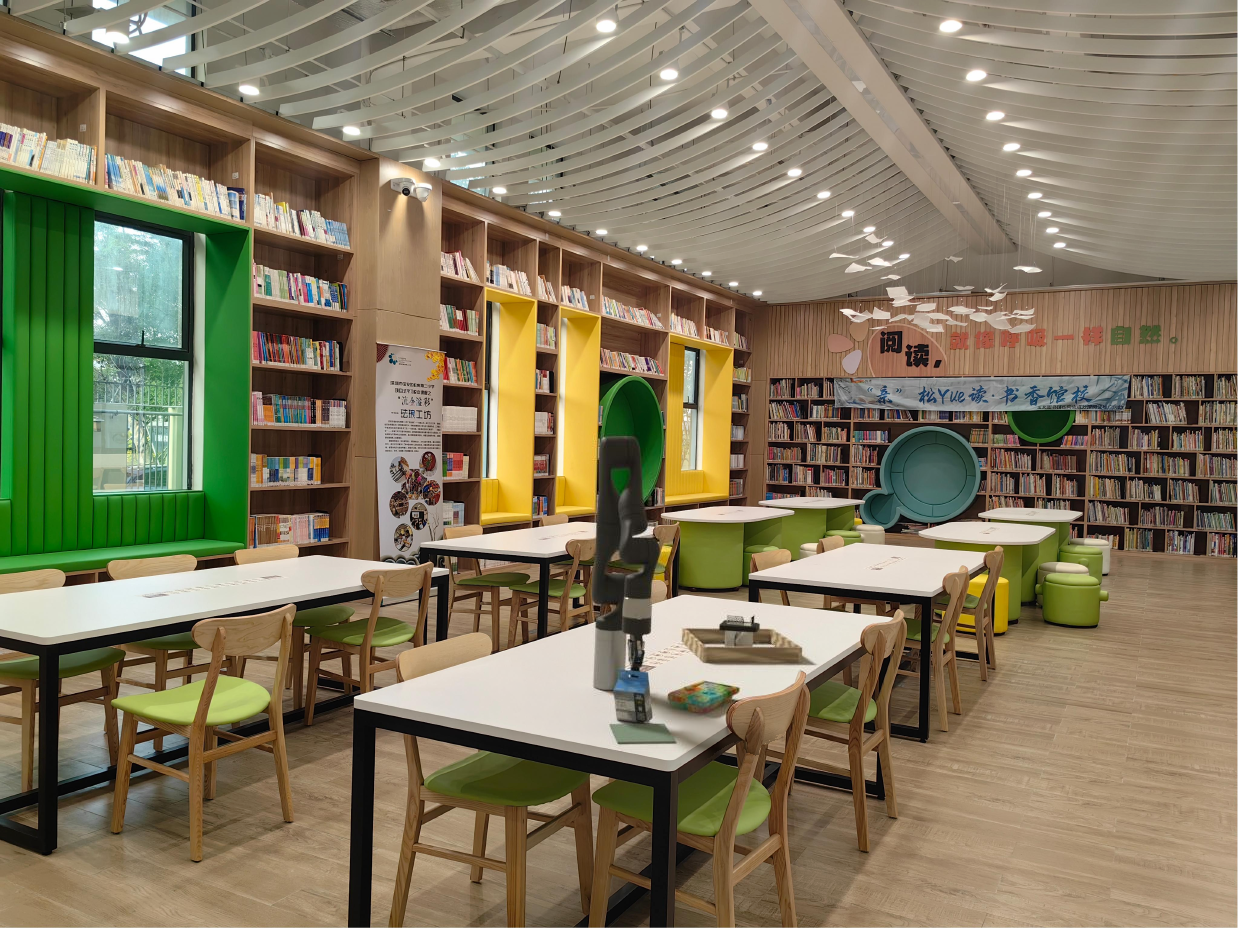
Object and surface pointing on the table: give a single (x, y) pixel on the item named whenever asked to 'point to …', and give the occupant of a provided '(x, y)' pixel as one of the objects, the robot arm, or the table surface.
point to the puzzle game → (702, 696)
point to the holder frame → (780, 653)
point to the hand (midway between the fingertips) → (634, 681)
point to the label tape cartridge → (633, 697)
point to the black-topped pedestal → (739, 632)
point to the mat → (641, 733)
